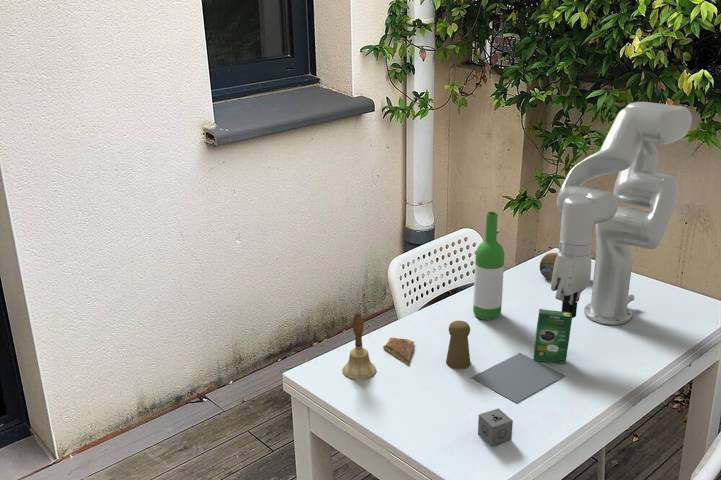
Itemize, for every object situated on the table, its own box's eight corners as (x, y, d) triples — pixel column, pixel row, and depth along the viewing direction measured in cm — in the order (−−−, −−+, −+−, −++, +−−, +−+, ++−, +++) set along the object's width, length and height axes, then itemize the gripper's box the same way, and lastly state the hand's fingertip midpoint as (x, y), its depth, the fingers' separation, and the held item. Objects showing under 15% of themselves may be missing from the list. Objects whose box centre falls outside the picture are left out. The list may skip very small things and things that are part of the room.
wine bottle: (487, 323, 207) (493, 220, 196) (467, 313, 213) (471, 212, 202) (506, 315, 212) (513, 213, 201) (486, 305, 217) (491, 206, 207)
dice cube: (491, 447, 157) (492, 427, 155) (477, 434, 161) (478, 414, 159) (511, 440, 159) (512, 420, 157) (497, 428, 163) (498, 408, 161)
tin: (538, 279, 234) (540, 254, 231) (538, 275, 237) (540, 250, 234) (589, 282, 232) (592, 256, 229) (588, 278, 234) (590, 252, 231)
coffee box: (566, 358, 189) (572, 311, 185) (566, 364, 187) (572, 316, 182) (533, 355, 191) (538, 307, 186) (533, 360, 188) (538, 312, 184)
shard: (408, 366, 188) (408, 360, 187) (378, 363, 189) (378, 357, 189) (415, 345, 198) (415, 339, 197) (386, 342, 199) (386, 336, 199)
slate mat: (519, 353, 192) (519, 352, 192) (565, 375, 182) (565, 375, 182) (470, 378, 182) (470, 377, 181) (516, 403, 171) (516, 402, 171)
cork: (456, 354, 192) (457, 315, 188) (475, 362, 188) (477, 322, 184) (440, 362, 188) (441, 323, 184) (460, 371, 184) (461, 331, 180)
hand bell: (370, 382, 181) (370, 322, 175) (337, 377, 183) (336, 317, 177) (380, 364, 188) (379, 306, 182) (348, 360, 190) (347, 302, 185)
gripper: (580, 235, 189) (574, 302, 196) (542, 250, 180) (537, 319, 187) (607, 244, 184) (599, 312, 190) (569, 259, 175) (562, 330, 181)
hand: (568, 315), depth 189 cm, fingers closed
